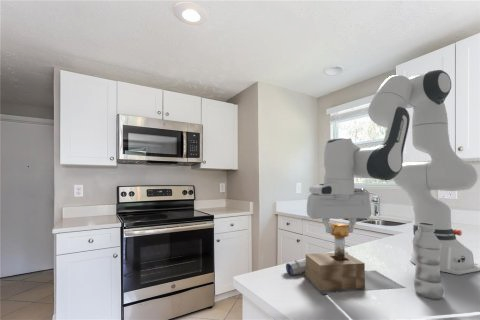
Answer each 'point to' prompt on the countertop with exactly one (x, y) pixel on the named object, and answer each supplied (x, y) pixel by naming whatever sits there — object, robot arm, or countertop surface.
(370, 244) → the countertop surface
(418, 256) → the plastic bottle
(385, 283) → the hitch block
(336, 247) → the brass knob
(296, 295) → the countertop surface
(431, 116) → the robot arm
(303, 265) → the white handheld device
